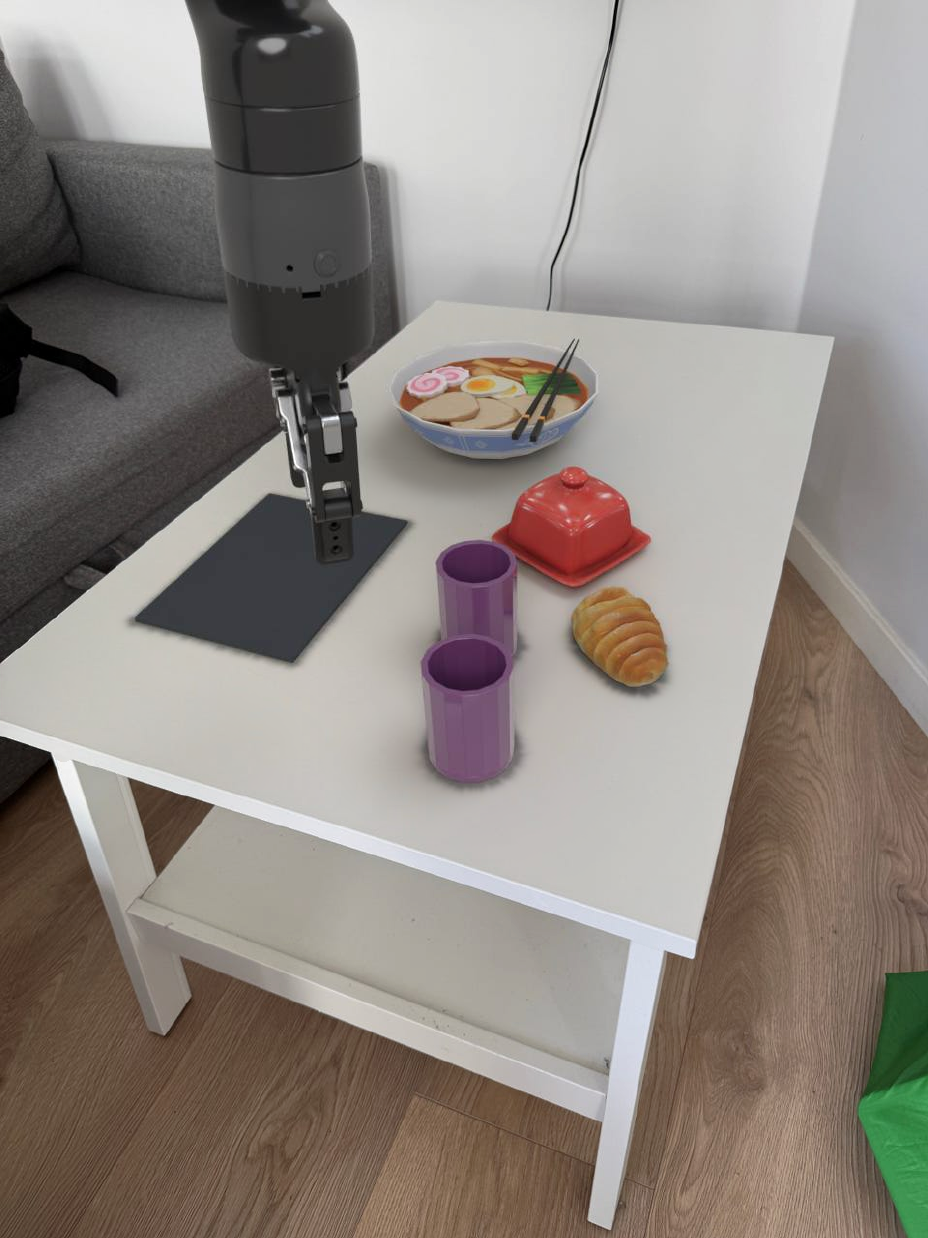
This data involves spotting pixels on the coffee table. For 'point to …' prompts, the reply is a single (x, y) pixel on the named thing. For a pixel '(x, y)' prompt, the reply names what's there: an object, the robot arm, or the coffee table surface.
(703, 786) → the coffee table surface
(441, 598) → the plum cup side
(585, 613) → the pastry
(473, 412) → the ramen bowl
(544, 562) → the butter dish
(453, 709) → the plum cup front
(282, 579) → the mat
